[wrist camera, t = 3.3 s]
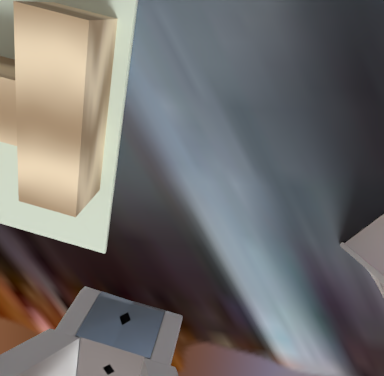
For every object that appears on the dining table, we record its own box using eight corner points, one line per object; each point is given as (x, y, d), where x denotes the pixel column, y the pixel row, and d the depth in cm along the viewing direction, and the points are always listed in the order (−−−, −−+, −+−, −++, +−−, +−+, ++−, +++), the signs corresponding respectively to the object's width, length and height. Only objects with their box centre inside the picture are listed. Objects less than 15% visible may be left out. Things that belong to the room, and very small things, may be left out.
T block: (-70, -30, 21) (-134, -38, 18) (117, 18, 21) (89, 20, 17) (-48, 148, 27) (-93, 169, 24) (99, 189, 27) (75, 217, 23)
